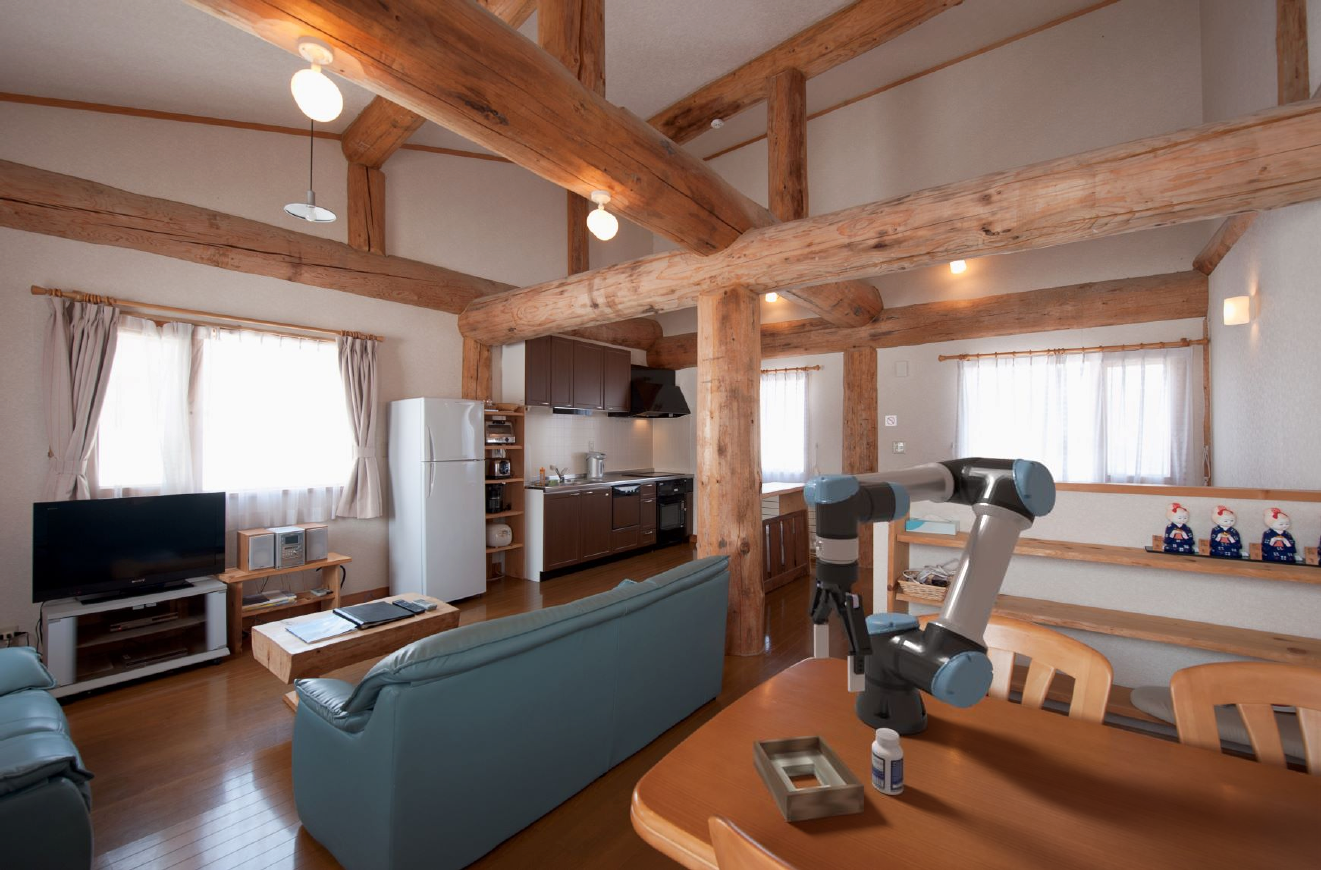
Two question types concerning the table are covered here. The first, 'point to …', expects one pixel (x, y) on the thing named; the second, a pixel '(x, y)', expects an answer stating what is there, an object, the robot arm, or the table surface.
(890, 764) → the pill bottle
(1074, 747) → the table surface
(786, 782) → the box
